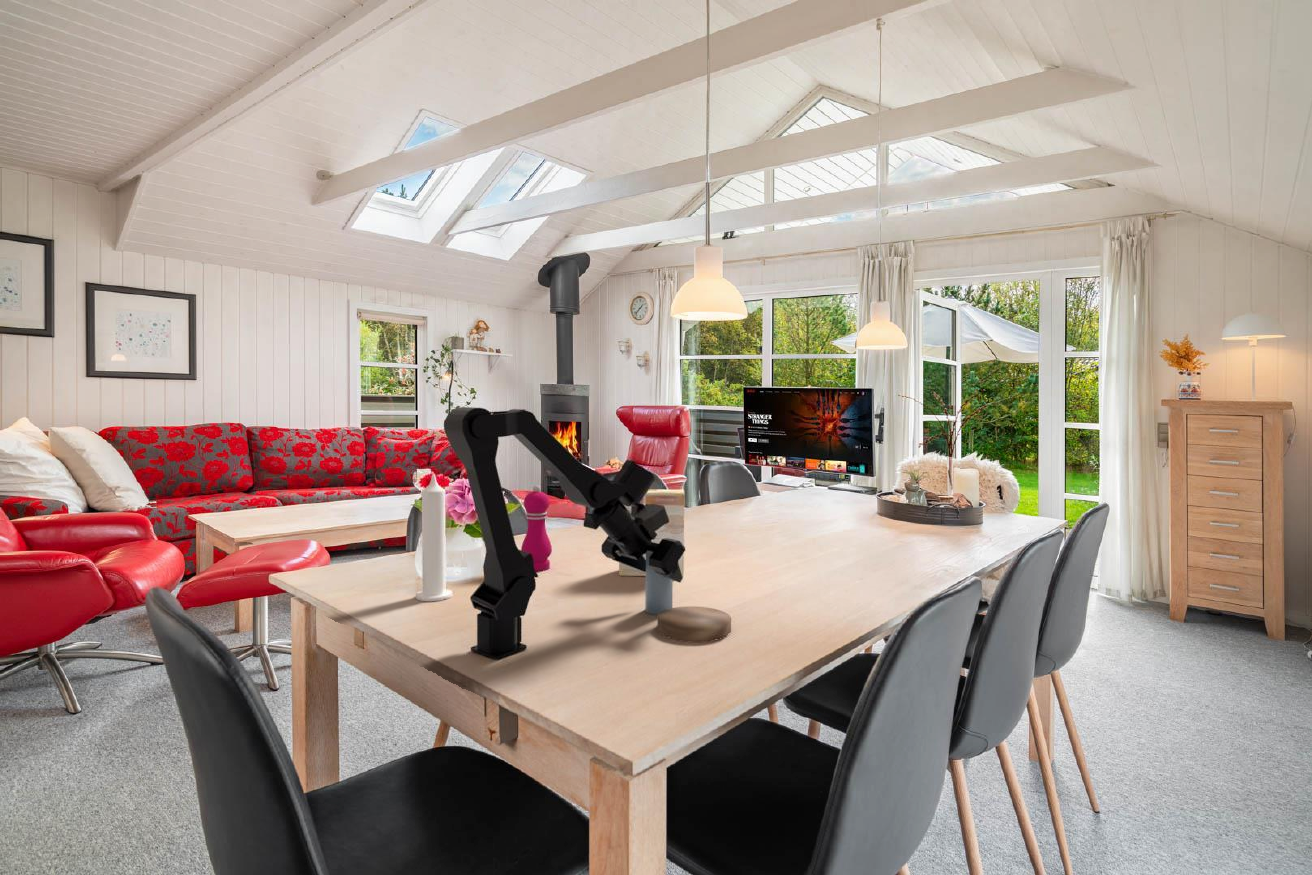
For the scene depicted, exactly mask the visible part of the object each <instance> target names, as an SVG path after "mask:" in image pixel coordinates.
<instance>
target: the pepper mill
mask: <svg viewBox="0 0 1312 875" xmlns="http://www.w3.org/2000/svg"><path fill="white" fill-rule="evenodd" d="M532 490H533V491H531V492H528V493H527V494H526V495H525V497H524V498H523V499H524V500H523V507H524V509H526V511H525V512H526V513H525V515H526V516H525V518H526V519H527V530H526V534H525V536H524V539H523V541H522V544H521V547H520V548H521V549H520V550H522V551H525V552H528V553H531V554H532V557H533V563H534V569H535V572H541V571H540V570H544V571H546V570H545V569H547V570H549V569H550V566H551V561H550V559H548V558H549V557H550V556H551V554H552V551H553V550H552V549H553V548H552V544H551V541H550V538H549V536H548V534H547V528H546V519H547V518H548V511H547V509H548V508H549V507H550V498H549V496H548V495H547V494H546V493H545V492H543V491H541V486H540V485H537V484H535V485H533V487H532Z"/></svg>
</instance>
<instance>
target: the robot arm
mask: <svg viewBox="0 0 1312 875" xmlns="http://www.w3.org/2000/svg"><path fill="white" fill-rule="evenodd" d="M443 431H444V434H445V435H446V439H447V440H448V442H449V444H450V447H451V449H452V451H453V452H454V454H455V455H456V456H457V458H458V459H459V460H460V462H461V463H462V465H463V467H464V469H465V473H466V476H467V481H468V485H469V488H470V492H471V493H470V494H471V497H472V500H473V504H474V507H475V512H476V515H477V519H478V522H479V528H480V531H481V535H482V539H483V543H484V547H485V556H484V561H483V566H482V569H483V581H482V582H481V583H480V584H479V586H478V587H477V588H476V589H475V591H474V592H473V593H472V595H471V596H470V601H471V604H472V607H473V609H475V610H477V611H478V610H479V613H477V614H476V644H475V645H473V646H471V647H470V651H471V652H474V653H476V654H479V655H483V656H486V657H488V658H491V659H494V660H498V659H501V658H502V659H503V658H504V657H507V656H509V655H513V654H515V653H518V652H520V651H523V650H526V649H527V644H524V643H522V629H523V628H522V625H523V624H522V623H523V622H522V620H523V619H522V617H524V616H525V615H526V612H527V609H528V605H529V603H530V599H531V597H532V596H533V594H534V591H535V590H536V587H537V583H536V578H539V575H538V573H537V571H535V569H534V563H533V557H532V554H531V553H528V552H525V551H522V550H521V549H519V548H518V546H517V544H516V541H515V536H514V532H513V528H512V524H511V520H510V515H509V512H508V508H507V504H506V500H505V496H504V492H503V488H502V484H501V481H500V476H499V472H498V468H497V462H496V460H497V459H496V457H497V453H498V449H499V443H500V442H499V438H503V437H505V438H506V437H510V436H514V437H515V439H516V440H518V441H519V443H521V444H522V445H523V446H524V447H525V448H526V449H528V451H529V452H530V453H531V454H533V456H534V457H536V458H537V459H538V461H540V462H541V463H542V464H543V465H544V467H546V469H548V470H549V471H550V472H551V473H552V474H553V475H554V476H555V477H556V479H557V480H558V482H559V485H560V488H561V490H562V491H563V493H564V494H565V496H566V497H567V499H569V501H570V502H571V503H573V504H574V505H577V506H578V505H579V506H582V507H586V508H587V507H588V508H592V509H591V511H589V512H585V513H584V518H583V519H584V520H583V527H585V528H588V529H591V530H598V528H599V527H600V529H602V530H603V532H605V534H606V535H607V537H606V538H605V540H604V541H603V543H602V544H601V553H602V554H603V555H604V556H605V557H606V558H608V559H612V560H611V561H614V562H617V563H619V562H620V563H622V564H625V565H628V566H630V567H633V568H636V569H638V570H641V571H643V572H646V560H645V558H644V557H643V555H644V554H648V555H651V556H650V557H649V566H650V567H651V568H652V569H653V570H655V572H656V573H658V574H660V575H663V576H665V577H667V578H669V579H672V580H673V581H675V582H677V583H679V584H680V583H681V582H682V581H683V578H684V576H683V577H682V574H681V570H680V567H679V564H678V561H679V559H680V558H681V556H682V555H683V553H684V554H685V552H686V547H685V544H684V545H683V544H682V543H681V542H680V541H678V540H673V539H669V538H665V539H662V540H661V541H660V543H659V544H658V543H654V542H651V540H652V539H653V540H654V539H655V537H656V536H657V533H656V532H655V531H656V530H658V529H659V528H660V527H662V526H663V525H664V524H667V523H668V522H669V518H668V515H667V512H666V509H665V507H664V506H662V505H657V504H646V505H645V506H644V505H643V504H642V503H640V501H641V500H642V499H643V497H644V496H645V494H646V493H647V492H648V490H649V489H651V488H652V486H654V485H653V484H654V483H655V481H656V478H655V476H654V475H653V473H652V472H651V471H649V470H647V469H646V468H645V467H643V466H642V465H639V464H637V463H636V461H635V460H630V459H627V460H625V461H624V463H623V464H622V466H621V468H620V470H619V471H617V473H616V475H615V476H614V478H613V479H612V480H609V478H608V477H606V476H605V475H603V474H602V473H600V471H598V470H596V469H594V468H592V467H591V466H588V465H586V464H584V463H582V461H579V460H578V459H577V458H576V457H575V456H574V455H573V454H572V453H571V452H570V451H569V450H568V449H567V447H565V445H563V443H561V442H560V440H558V439H557V438H556V437H555V436H554V435H553V433H551V432H550V431H549V430H548V429H547V428H546V427H545V426H544V425H543V424H542V423H541V422H540V421H539V420H538V419H537V417H536V416H535V414H534V413H533V412H532V411H530V410H529V409H524V408H523V409H522V408H512V409H509V410H501V411H500V410H499V411H489V410H488V409H486V408H483V407H469V406H467V407H466V406H464V407H463V406H462V407H457V408H454V409H452V410H451V411H450V412H449V413H448V414H447V416H446V418H445V419H444V421H443ZM631 504H632V506H631ZM624 505H625V506H631V513H630V512H629V511H628V509H627V508H626V507H625V506H624Z"/></svg>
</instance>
